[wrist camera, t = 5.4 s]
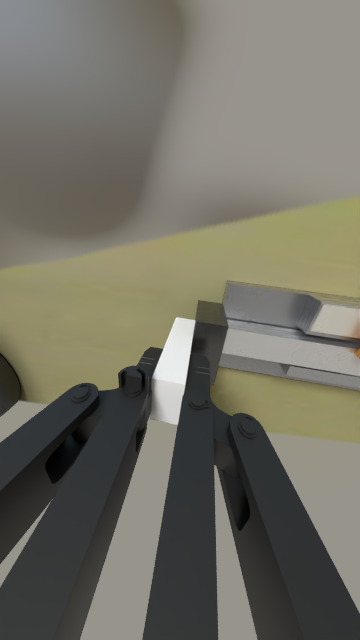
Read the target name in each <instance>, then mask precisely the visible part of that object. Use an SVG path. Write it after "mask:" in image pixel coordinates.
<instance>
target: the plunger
mask: <svg viewBox="0 0 360 640" xmlns="http://www.w3.org/2000/svg"><path fill="white" fill-rule="evenodd" d="M190 353H191V354H197V355H203V356H206V357H207V359H208V360H209V362H210V385H214V381H215V378H216V374H217V370H218V366H219V362H220V358H221V354H222V353H225V354H231V355H237V356H243V357H249V358H255V359H261V360H267V361H273V362H278V363H284V364H290V365H296V366H302V367H308V368H314V369H320V370H326V371H332V372H338V373H344V374H350V375H356V376H360V342H356V341H349V340H343V339H336V338H330V337H323V336H317V335H310V334H306V333H305V332H304V331H301V330H294V329H288V328H281V327H275V326H268V325H262V324H255V323H249V322H242V321H236V320H229V319H227V318H226V314H225V310H224V306H223V304H220V303H213V302H206V301H199V300H198V305H197V312H196V318H195V326H194V332H193V339H192V345H191V352H190Z"/></svg>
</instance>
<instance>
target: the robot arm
mask: <svg viewBox="0 0 360 640" xmlns="http://www.w3.org/2000/svg"><path fill="white" fill-rule="evenodd" d="M194 326H195V320H190V319H184V318H178V317H176V319H175V322H174V324H173V327H172V329H171V332H170V334H169V337H168V339H167V342H166V344H165V347H164V349H160V348H154V347H150V348H149V349H147V350H146V351H145V352H144V354H143V356H142V358H141V359H140V361H139V363H138V365H137V366H130V367H126V368H124V369H122V370H121V371H120V372H119V373H118V378H119V388H117V389H113V390H103V391H98V388H97V386H95V385H94V384H91V383H82V384H79V385H76V386H74V387H72V388H71V389H69V390H68V391H66V392H65V393H64V394H63V395H61V396H60V397H59V398H57V399H56V400H55V401H54V402H52V403H51V404H50V405H48V406H47V407H46V408H44V409H43V410H42V411H41V412H39V413H38V414H37V415H35V416H34V417H33V418H32V419H30V420H29V421H28V422H26V423H25V424H24V425H23V426H21V427H20V428H19V429H18V430H16V431H15V432H14V433H12V434H11V435H10V436H9V437H7V438H6V439H5V440H3V441H2V442H1V443H0V564H1V562H2V561H3V560H4V559H5V557H6V556H7V555H8V554H9V552H10V551H11V550H12V549H13V548H14V546H15V545H16V544H17V542H18V541H19V540H20V539H21V538H22V536H23V535H24V534H25V533H26V531H27V530H28V529H29V528H30V526H31V525H32V524H33V523H34V521H35V520H36V519H37V518H38V516H39V515H40V514H41V513H42V511H43V510H44V509H45V508H46V506H47V505H48V504H49V502H50V501H51V500H52V499H53V500H52V501H51V503H50V505H49V507H48V508H47V510H46V512H45V513H44V515H43V517H42V518H41V520H40V522H39V523H38V525H37V527H36V528H35V530H34V532H33V533H32V535H31V537H30V538H29V540H28V542H27V543H26V545H25V547H24V549H23V550H22V552H21V554H20V555H19V557H18V559H17V560H16V562H15V564H14V565H13V567H12V569H11V570H10V572H9V574H8V575H7V577H6V579H5V580H4V582H3V584H2V586H1V587H0V640H80V637H81V634H82V630H83V627H84V624H85V621H86V618H87V615H88V612H89V609H90V606H91V603H92V599H93V596H94V593H95V590H96V587H97V584H98V581H99V577H100V574H101V571H102V568H103V565H104V562H105V559H106V555H107V552H108V549H109V546H110V543H111V540H112V537H113V533H114V530H115V527H116V524H117V521H118V518H119V515H120V512H121V509H122V505H123V502H124V499H125V496H126V493H127V489H128V486H129V484H130V480H131V477H132V474H133V471H134V468H135V465H136V462H137V458H138V455H139V452H140V449H141V446H142V443H143V439H144V437H145V433H146V429H147V421H148V418H149V415H150V419H152V420H157V421H161V422H166V423H171V424H175V425H178V427H177V433H176V439H175V446H174V451H173V457H172V463H171V469H170V476H169V482H168V488H167V494H166V500H165V506H164V512H163V518H162V524H161V531H160V537H159V542H158V548H157V554H156V560H155V567H154V573H153V579H152V585H151V591H150V597H149V603H148V609H147V616H146V622H145V628H144V633H143V640H218V617H217V616H218V614H217V575H216V530H215V490H214V465H216V466H217V469H218V473H219V477H220V482H221V486H222V490H223V494H224V499H225V503H226V507H227V511H228V516H229V520H230V524H231V528H232V533H233V537H234V541H235V545H236V550H237V554H238V558H239V562H240V567H241V571H242V575H243V579H244V583H245V587H246V592H247V596H248V600H249V605H250V609H251V613H252V617H253V622H254V626H255V630H256V634H257V639H258V640H360V613H359V611H358V610H357V608H356V606H355V604H354V602H353V600H352V598H351V596H350V594H349V592H348V590H347V589H346V586H345V585H344V583H343V581H342V579H341V577H340V575H339V573H338V571H337V569H336V567H335V565H334V563H333V561H332V559H331V558H330V556H329V554H328V552H327V550H326V548H325V546H324V544H323V542H322V540H321V539H320V536H319V535H318V533H317V531H316V529H315V527H314V525H313V523H312V521H311V519H310V517H309V515H308V514H307V511H306V510H305V508H304V506H303V504H302V502H301V500H300V498H299V496H298V494H297V492H296V490H295V489H294V486H293V484H292V483H291V481H290V479H289V477H288V475H287V473H286V471H285V469H284V467H283V465H282V464H281V462H280V459H279V458H278V456H277V454H276V452H275V450H274V448H273V446H272V444H271V442H270V440H269V438H268V436H267V435H266V432H265V431H264V429H263V427H262V426H261V424H260V423H259V422H258V421H257V420H256V419H255V418H254V417H252V416H250V415H248V414H244V413H238V414H235V415H233V416H230V415H228V414H226V413H224V412H222V411H221V410H219V409H218V408H217V407H216V406H215V405H214V404H213V403H212V401H211V398H210V362H209V360H208V359H207V357H206V356H203V355H197V354H191V353H190V352H191V345H192V339H193V332H194ZM19 398H20V385H19V382H18V379H17V377H16V375H15V373H14V372H13V370H12V368H11V367H10V366H9V364H8V363H7V362H6V361H5V359H4V358H3V357H2V356H1V355H0V417H1V416H2V415H3V414H4V413H5V412H7V411H8V410H9V409H10V408H11V407H12V406H14V404H16V403H17V402H18V400H19Z"/></svg>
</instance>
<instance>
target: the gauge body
mask: <svg viewBox="0 0 360 640" xmlns="http://www.w3.org/2000/svg"><path fill="white" fill-rule="evenodd" d="M222 304H223V306H224V310H225V314H226V318H227V319H229V320H236V321H242V322H249V323H255V324H262V325H268V326H275V327H281V328H288V329H294V330H301V331H304V332H305V333H306V334H310V335H317V336H323V337H330V338H336V339H343V340H349V341H356V342H360V298H352V297H345V296H338V295H330V294H323V293H316V292H308V291H301V290H294V289H286V288H279V287H272V286H264V285H257V284H250V283H242V282H235V281H228V280H227V283H226V288H225V292H224V297H223V301H222ZM219 366H222V367H227V368H233V369H239V370H245V371H250V372H256V373H262V374H268V375H273V376H279V377H285V378H290V379H296V380H302V381H308V382H313V383H319V384H325V385H331V386H336V387H342V388H348V389H353V390H359V391H360V376H356V375H350V374H344V373H338V372H332V371H326V370H320V369H314V368H308V367H302V366H296V365H290V364H284V363H278V362H273V361H267V360H261V359H255V358H249V357H243V356H237V355H231V354H225V353H222V354H221V358H220V362H219Z"/></svg>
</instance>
